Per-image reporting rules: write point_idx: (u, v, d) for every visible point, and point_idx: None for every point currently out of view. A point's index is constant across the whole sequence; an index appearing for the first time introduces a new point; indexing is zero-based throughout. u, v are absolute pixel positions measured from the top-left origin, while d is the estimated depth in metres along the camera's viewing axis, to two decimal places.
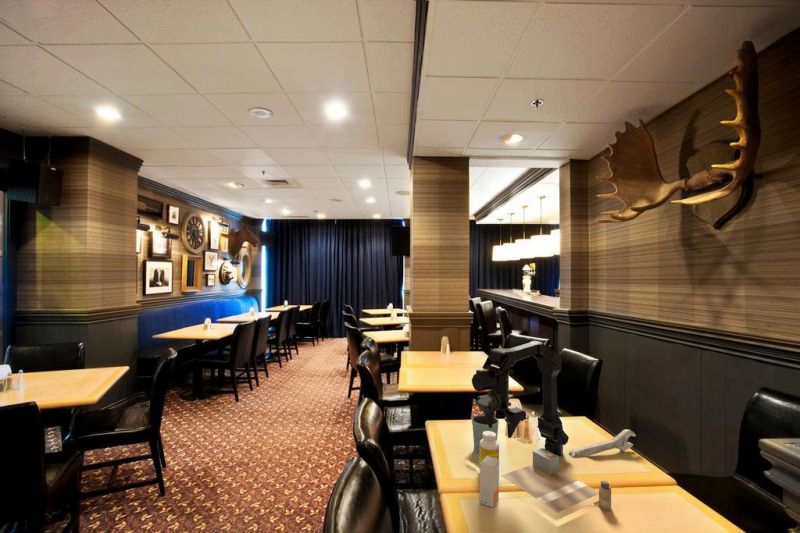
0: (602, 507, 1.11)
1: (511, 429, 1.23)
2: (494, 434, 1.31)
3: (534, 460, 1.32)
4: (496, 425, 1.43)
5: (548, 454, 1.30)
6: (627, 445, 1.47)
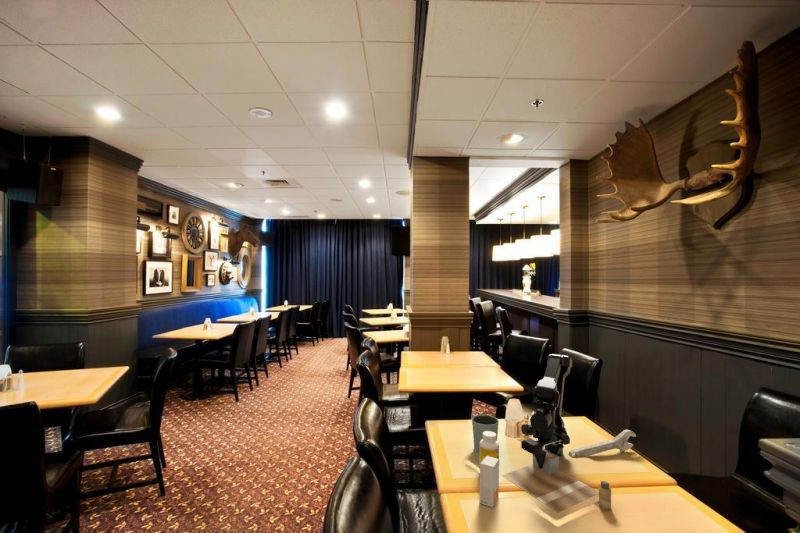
0: (602, 507, 1.11)
1: (537, 459, 1.30)
2: (494, 434, 1.31)
3: (534, 460, 1.32)
4: (496, 425, 1.43)
5: (548, 454, 1.30)
6: (627, 445, 1.46)
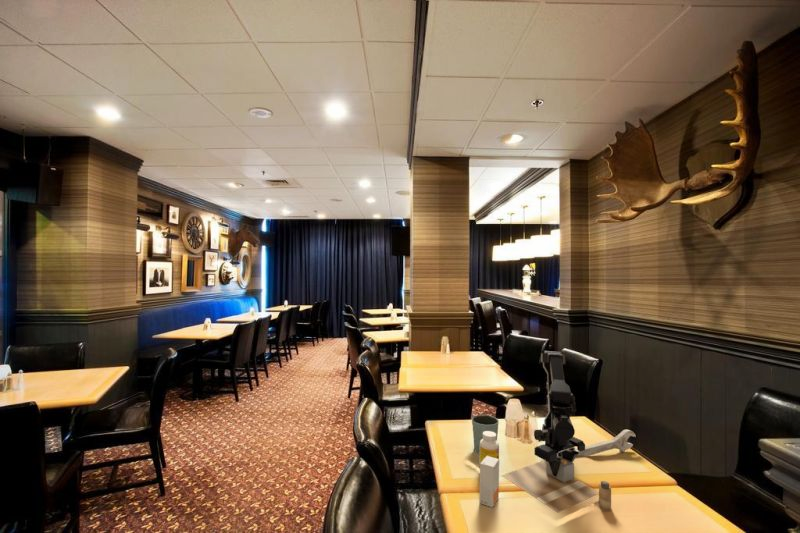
0: (602, 507, 1.11)
1: (551, 466, 1.24)
2: (494, 434, 1.31)
3: (548, 467, 1.27)
4: (496, 425, 1.43)
5: (562, 461, 1.25)
6: (627, 445, 1.46)
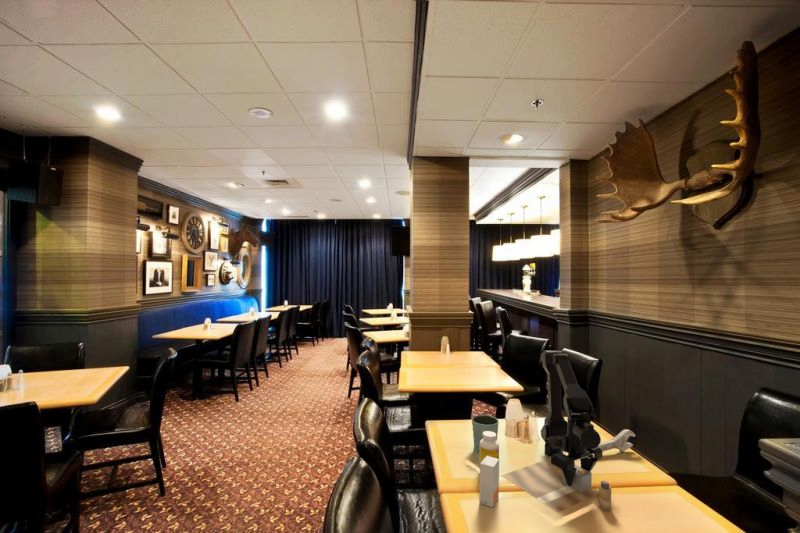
0: (602, 507, 1.11)
1: (566, 475, 1.19)
2: (494, 434, 1.31)
3: None
4: (496, 425, 1.43)
5: (579, 470, 1.20)
6: (627, 445, 1.46)
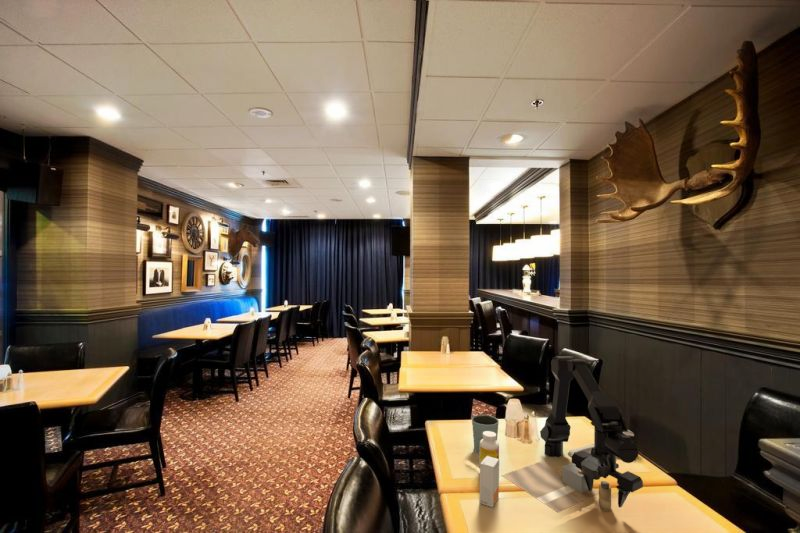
0: (602, 507, 1.11)
1: (623, 497, 1.07)
2: (494, 434, 1.31)
3: (564, 476, 1.22)
4: (496, 425, 1.43)
5: (579, 470, 1.20)
6: None
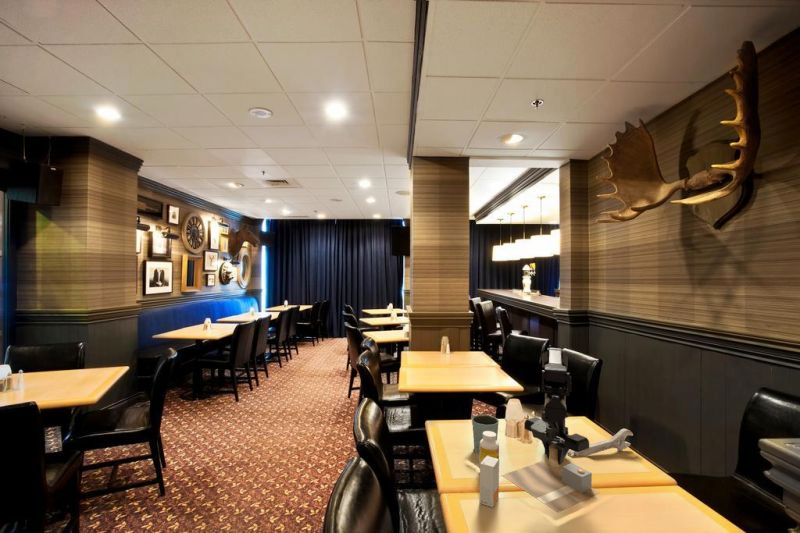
0: (552, 466, 1.12)
1: (562, 455, 1.10)
2: (494, 434, 1.31)
3: (564, 476, 1.22)
4: (496, 425, 1.43)
5: (579, 470, 1.20)
6: (625, 444, 1.47)
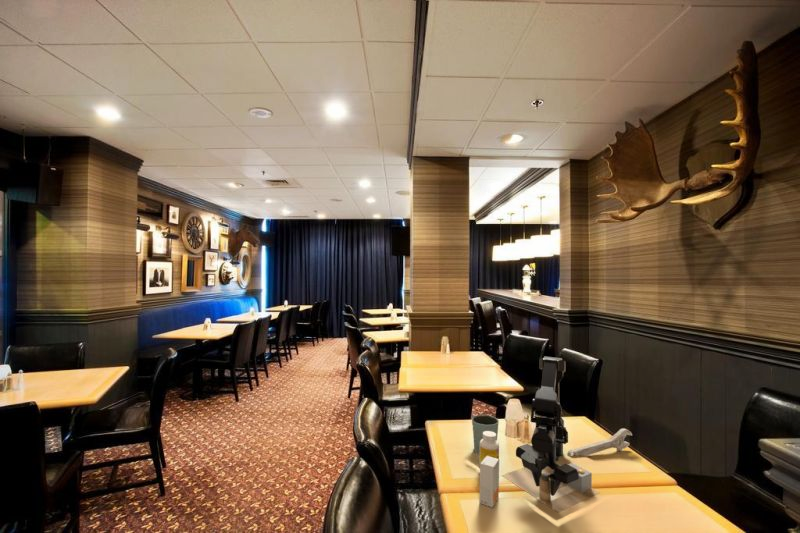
0: (542, 498, 1.12)
1: (555, 486, 1.10)
2: (494, 434, 1.31)
3: None
4: (496, 425, 1.43)
5: (579, 470, 1.20)
6: (624, 444, 1.47)
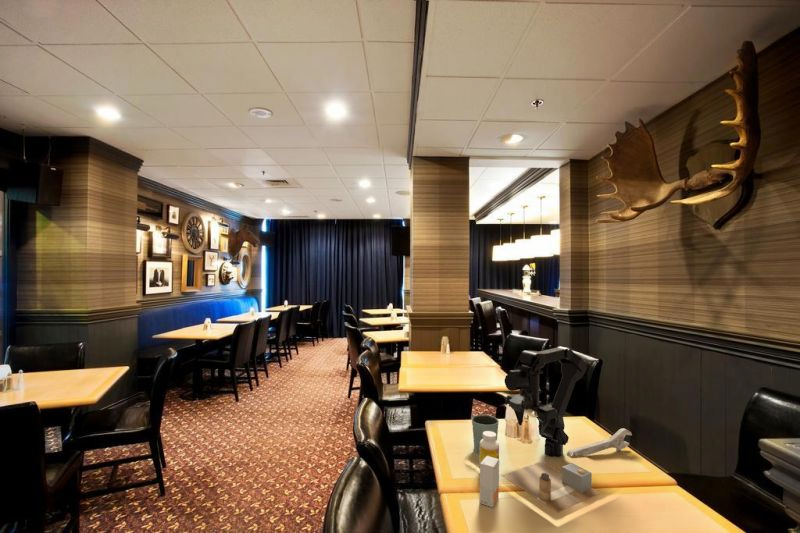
0: (542, 498, 1.12)
1: (542, 426, 1.31)
2: (494, 434, 1.31)
3: (564, 476, 1.22)
4: (496, 425, 1.43)
5: (579, 470, 1.20)
6: (623, 444, 1.47)
